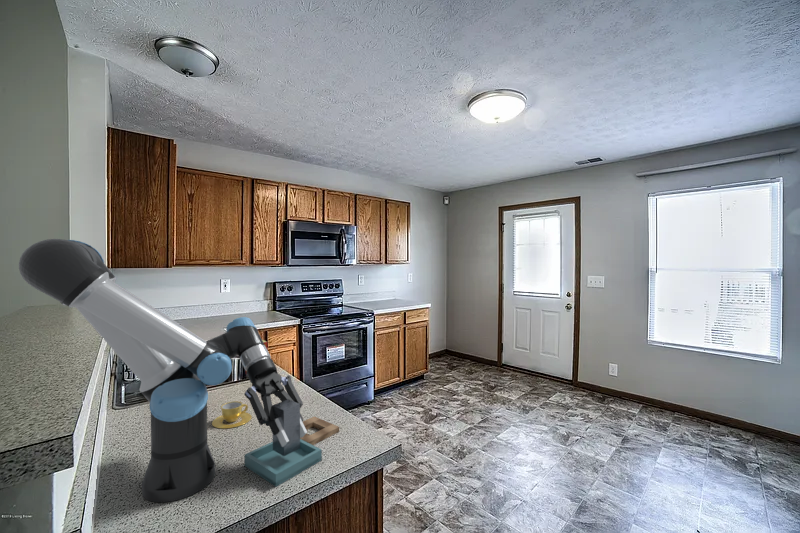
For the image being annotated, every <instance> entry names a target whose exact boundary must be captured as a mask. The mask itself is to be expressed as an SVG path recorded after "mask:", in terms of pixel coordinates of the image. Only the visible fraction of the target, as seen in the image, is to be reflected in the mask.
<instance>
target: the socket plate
mask: <svg viewBox="0 0 800 533" xmlns="http://www.w3.org/2000/svg"><path fill="white" fill-rule="evenodd" d="M303 424H304V426H305V428H306V430H309V429H312V428H314V429H317V430H318V431H316V432H314V433H312V434H308V433H306V434H305V435H304V436H303V437H302V438H300V439H301V440H303V441H305V442H307V443H309V444H312V445H314V446H315V445H317V444H318V443H321V442H323V441H324V440H326V439H328V438H330V437H332V436H333V435H335V434H337V433H340V426H338V425H336V424H333V423H331V422H329V421H326V420H323V419H322V418H319V417H316V416H312V417H310V418H307V419H305V420H303Z"/></svg>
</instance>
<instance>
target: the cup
mask: <svg viewBox="0 0 800 533" xmlns="http://www.w3.org/2000/svg"><path fill="white" fill-rule="evenodd" d="M243 407H245V408H244V409H243ZM220 409H221V415H219V416H218V417H216V418H215V419H213V420H212V422H211V425H212V426H213V427H214V428H217V429H232V428H233V429H234V428H236V427H240V426H243V425H245V424H247V423H249V422H250V421H251V419H252V418H253V416H252V414H250V413H249V412H247V411H248V409H249V407H248V404H246V403H243V402H241V401H238V400H237V401H229V402H225V403H223V404H222V405H221V406H220ZM239 418H241V420H239ZM238 420H239V421H238ZM224 421H225V422H226V423H230V424H226V423H223V422H224ZM236 421H238V422H236ZM234 422H236V423H234ZM231 423H232V424H231Z"/></svg>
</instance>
